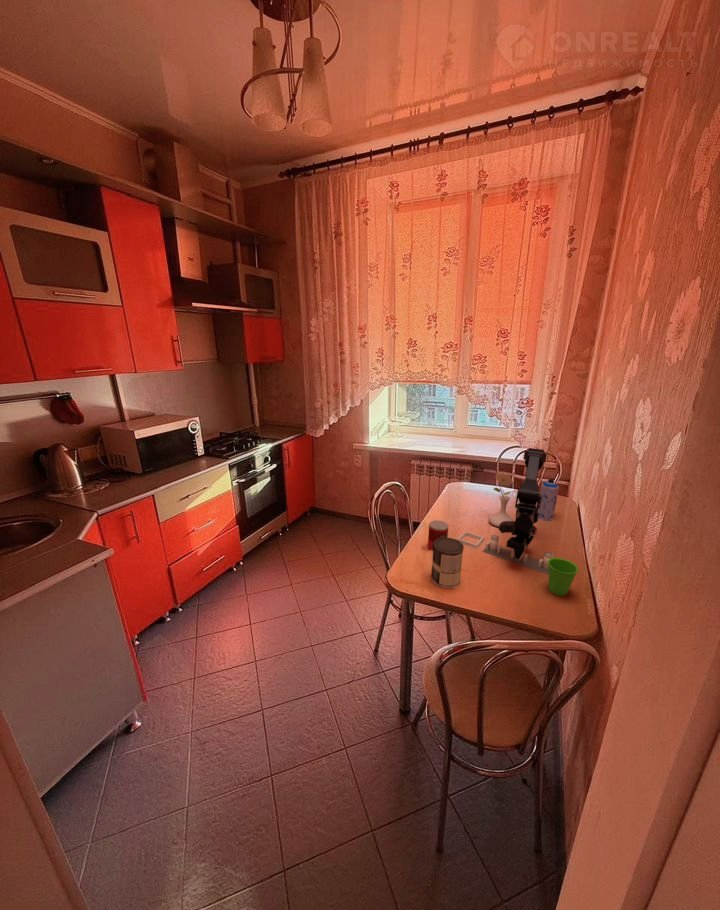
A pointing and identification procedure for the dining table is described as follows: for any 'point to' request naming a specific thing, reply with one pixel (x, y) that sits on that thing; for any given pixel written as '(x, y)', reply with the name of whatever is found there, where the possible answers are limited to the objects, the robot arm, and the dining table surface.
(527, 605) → the dining table surface
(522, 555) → the cylinder
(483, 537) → the tray
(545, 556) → the cylinder
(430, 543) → the canned food
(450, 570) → the coffee can
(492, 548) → the cylinder
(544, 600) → the dining table surface
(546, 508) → the aerosol can
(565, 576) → the cup
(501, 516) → the flower in vase
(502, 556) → the fuse block
